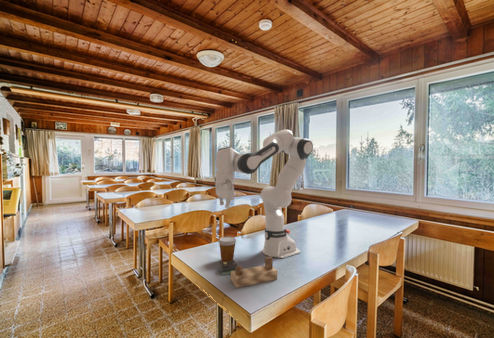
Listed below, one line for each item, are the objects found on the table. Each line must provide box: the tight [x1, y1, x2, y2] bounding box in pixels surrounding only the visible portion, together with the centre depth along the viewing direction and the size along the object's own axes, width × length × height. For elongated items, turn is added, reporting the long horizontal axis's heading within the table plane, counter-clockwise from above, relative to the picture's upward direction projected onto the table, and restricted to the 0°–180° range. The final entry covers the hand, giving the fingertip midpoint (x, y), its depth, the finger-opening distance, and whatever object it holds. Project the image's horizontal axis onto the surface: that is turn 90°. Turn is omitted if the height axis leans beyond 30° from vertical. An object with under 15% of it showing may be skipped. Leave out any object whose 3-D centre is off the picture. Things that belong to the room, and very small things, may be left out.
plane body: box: [229, 256, 278, 289], centre depth 105 cm, size 21×7×9 cm, turn 113°
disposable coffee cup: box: [218, 236, 237, 262], centre depth 125 cm, size 10×10×12 cm
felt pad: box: [217, 266, 235, 276], centre depth 114 cm, size 8×8×1 cm
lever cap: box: [218, 259, 238, 273], centre depth 114 cm, size 8×4×4 cm, turn 113°
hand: (224, 206), depth 116 cm, fingers open, 8 cm apart
